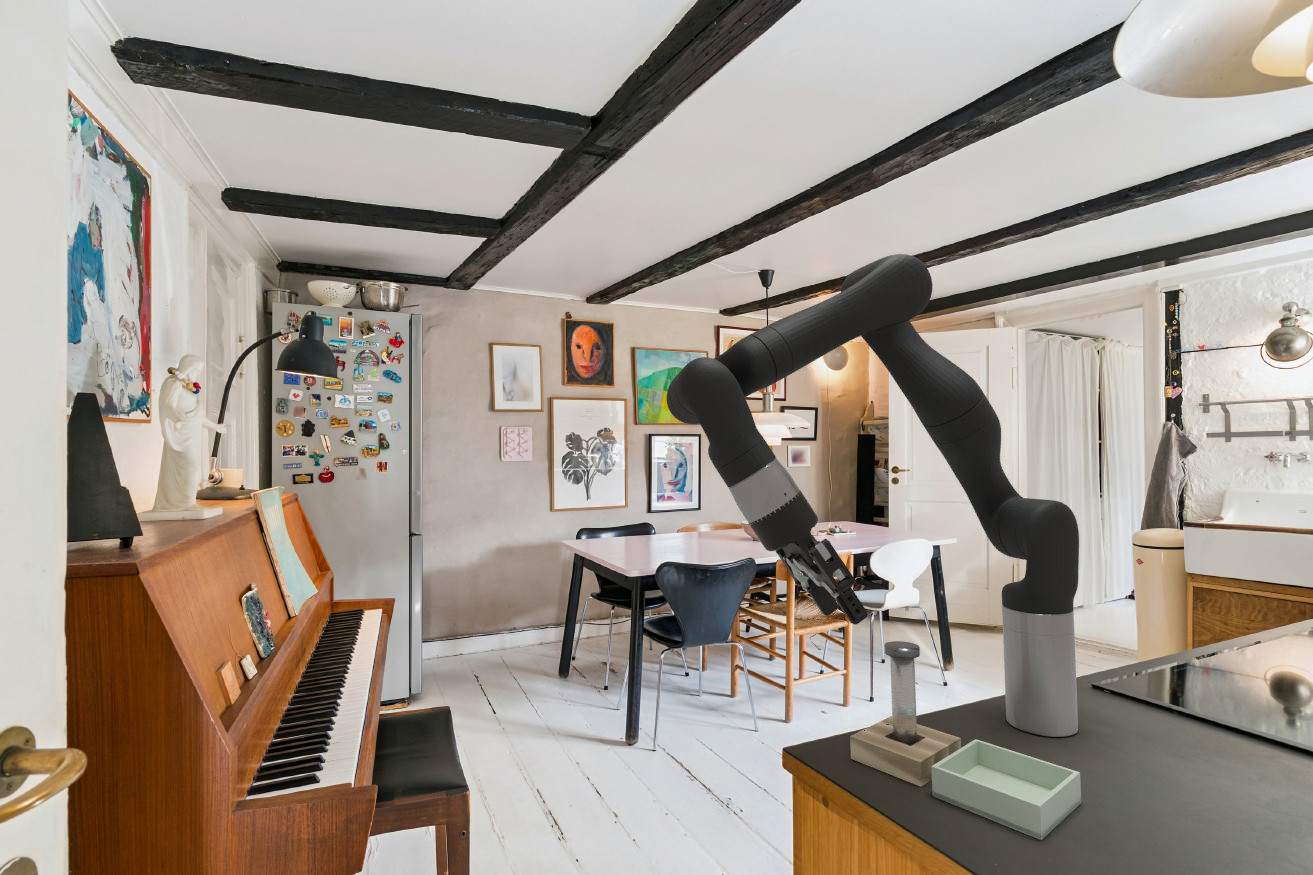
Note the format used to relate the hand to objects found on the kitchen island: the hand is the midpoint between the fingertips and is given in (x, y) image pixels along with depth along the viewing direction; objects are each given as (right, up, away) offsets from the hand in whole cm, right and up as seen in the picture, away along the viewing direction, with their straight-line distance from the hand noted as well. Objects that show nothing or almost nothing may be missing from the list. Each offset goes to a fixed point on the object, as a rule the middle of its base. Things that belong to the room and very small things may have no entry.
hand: (845, 615), depth 81 cm
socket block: (+10, -21, +7) cm, 24 cm away
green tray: (+18, -21, -4) cm, 27 cm away
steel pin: (+10, -21, +7) cm, 24 cm away
